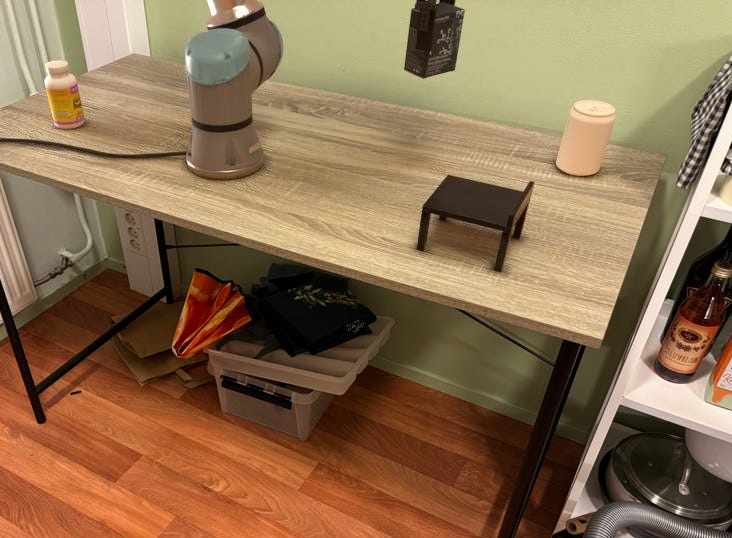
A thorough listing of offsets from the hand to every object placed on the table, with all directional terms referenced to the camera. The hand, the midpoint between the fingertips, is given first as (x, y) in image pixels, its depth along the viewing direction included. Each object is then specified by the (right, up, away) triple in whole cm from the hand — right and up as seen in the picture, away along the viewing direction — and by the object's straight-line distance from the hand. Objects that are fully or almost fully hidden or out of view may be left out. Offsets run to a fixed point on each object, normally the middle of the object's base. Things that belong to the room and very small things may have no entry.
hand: (433, 41), depth 121 cm
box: (0, -4, +4) cm, 5 cm away
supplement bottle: (-74, -4, +30) cm, 80 cm away
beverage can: (+30, -19, +12) cm, 38 cm away
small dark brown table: (+4, -37, -8) cm, 38 cm away
